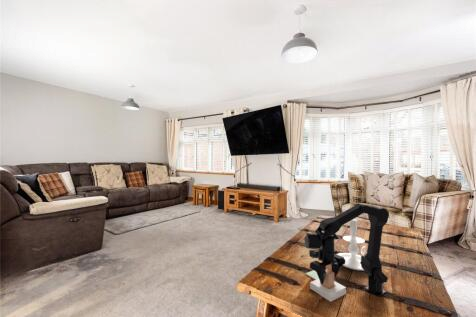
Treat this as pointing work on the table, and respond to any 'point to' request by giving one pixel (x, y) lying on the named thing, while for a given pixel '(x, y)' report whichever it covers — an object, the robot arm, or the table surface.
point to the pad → (313, 274)
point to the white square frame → (328, 290)
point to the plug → (329, 279)
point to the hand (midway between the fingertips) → (327, 281)
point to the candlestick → (353, 249)
